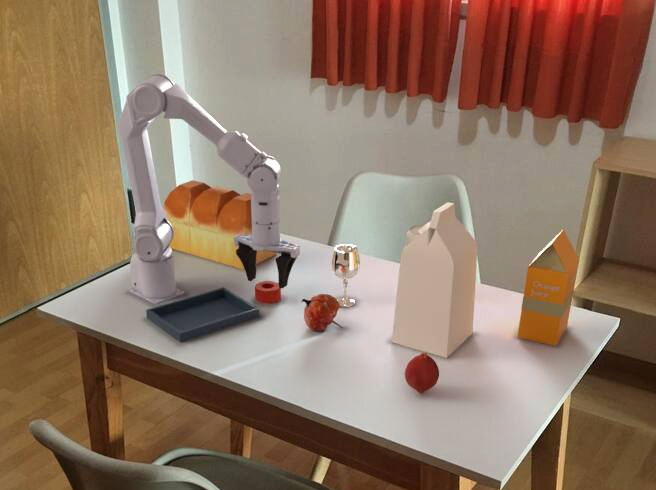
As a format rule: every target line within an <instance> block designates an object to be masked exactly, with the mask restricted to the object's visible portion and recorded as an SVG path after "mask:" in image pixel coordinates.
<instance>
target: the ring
mask: <svg viewBox="0 0 656 490" xmlns="http://www.w3.org/2000/svg"><path fill="white" fill-rule="evenodd" d="M281 293H282V288H279V282H278V281H277V282H276V281H274V280H264V281H263V280H262V281H258V282H257V283H255V285H254V300H255V301H256V302H257V303H260V304H263V305H264V304H266V305H271V304H277V303H278V302H281V300H282V294H281Z"/></svg>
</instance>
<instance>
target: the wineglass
mask: <svg viewBox="0 0 656 490" xmlns="http://www.w3.org/2000/svg"><path fill="white" fill-rule="evenodd" d="M360 259H361V258H360V252H359V248H358V247H357V246H356V245H353V244H339V245H336V246H335V247H334V250H333V254H332V258H331V268H332V272H333V274H334V275H335V276H336V277H338V278H339V279H343V281H342V285H343V297H339V298H336V299H337V301H338V302H339V304H340V308H341V307H342V308H350V307H353V306H355V304H356V300H354V299H353V298H351V297H347V287H348V284H349V281H348V280H349V279H352V278H354V277H355V276H357V275H358V273H359V271H360V267H361V260H360Z"/></svg>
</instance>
